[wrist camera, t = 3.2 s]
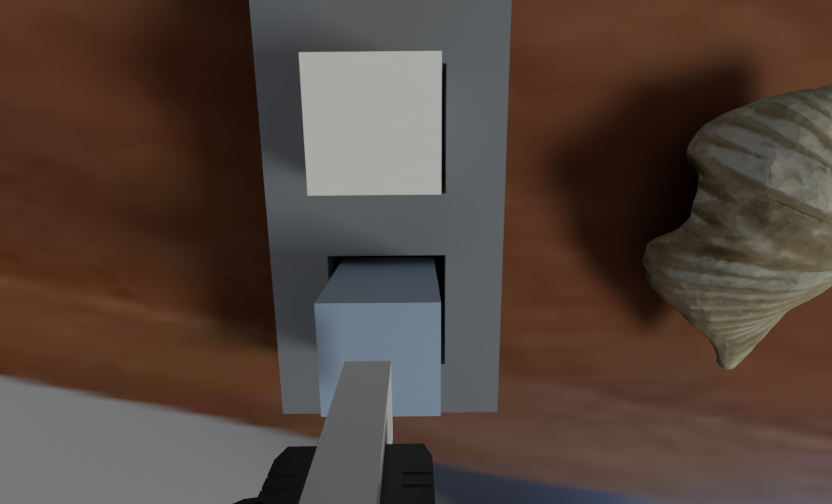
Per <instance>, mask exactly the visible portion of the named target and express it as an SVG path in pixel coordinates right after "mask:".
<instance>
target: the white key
mask: <svg viewBox="0 0 832 504" xmlns="http://www.w3.org/2000/svg"><path fill="white" fill-rule="evenodd" d="M299 67H300V83H301V100H302V116H303V132H304V148H305V164H306V180H307V196H338V195H441V170H442V51H365V52H299Z"/></svg>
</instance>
